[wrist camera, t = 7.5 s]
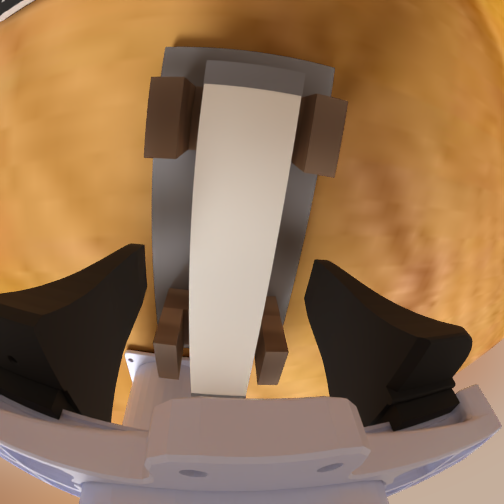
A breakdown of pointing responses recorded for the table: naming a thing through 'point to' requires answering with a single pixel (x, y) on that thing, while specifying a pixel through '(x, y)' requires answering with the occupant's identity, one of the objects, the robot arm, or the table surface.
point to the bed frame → (181, 193)
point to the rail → (236, 216)
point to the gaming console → (11, 7)
